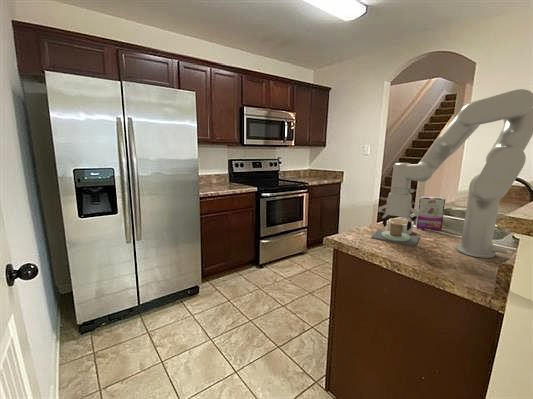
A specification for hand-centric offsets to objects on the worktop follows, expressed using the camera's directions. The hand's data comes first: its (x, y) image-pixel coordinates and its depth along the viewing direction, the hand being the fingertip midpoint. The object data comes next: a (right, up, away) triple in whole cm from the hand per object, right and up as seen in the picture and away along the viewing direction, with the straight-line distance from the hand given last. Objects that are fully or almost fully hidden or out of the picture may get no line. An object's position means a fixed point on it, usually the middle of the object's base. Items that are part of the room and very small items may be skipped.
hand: (396, 227), depth 121 cm
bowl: (+7, -3, +11) cm, 13 cm away
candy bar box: (+24, -2, +16) cm, 29 cm away
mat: (0, -5, +1) cm, 5 cm away
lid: (0, -4, +1) cm, 4 cm away
